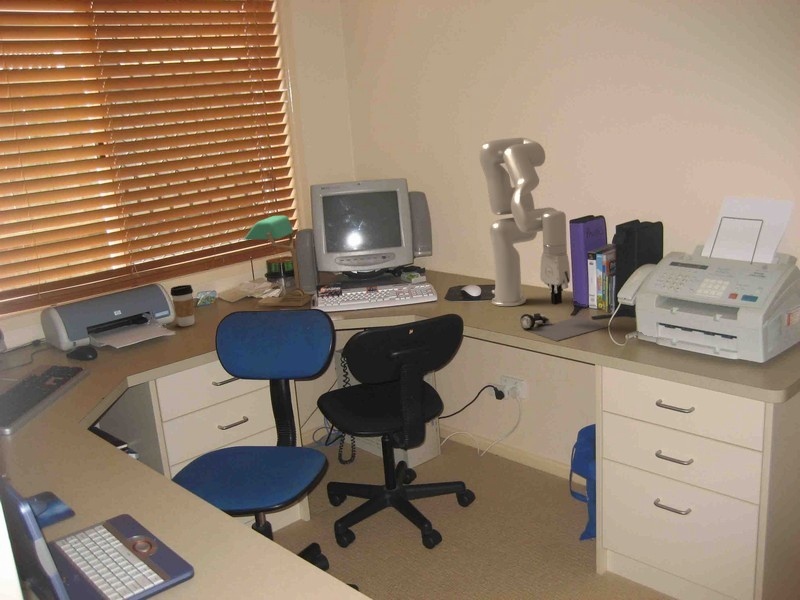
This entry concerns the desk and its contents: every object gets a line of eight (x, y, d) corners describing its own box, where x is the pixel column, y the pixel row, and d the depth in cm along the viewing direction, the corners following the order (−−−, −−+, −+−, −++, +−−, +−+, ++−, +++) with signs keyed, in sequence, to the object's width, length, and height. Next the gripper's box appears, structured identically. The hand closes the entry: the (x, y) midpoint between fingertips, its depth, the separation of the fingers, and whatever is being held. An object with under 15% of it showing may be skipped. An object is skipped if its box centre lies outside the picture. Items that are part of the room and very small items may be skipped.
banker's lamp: (298, 308, 308) (287, 221, 299) (251, 308, 314) (239, 222, 305) (314, 297, 322) (304, 214, 313) (269, 297, 329) (258, 215, 320)
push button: (554, 315, 259) (535, 319, 253) (550, 330, 261) (532, 334, 254) (538, 308, 264) (520, 312, 257) (535, 323, 266) (516, 326, 259)
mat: (527, 331, 256) (527, 330, 256) (578, 317, 266) (578, 316, 266) (556, 341, 244) (556, 340, 244) (608, 326, 254) (608, 325, 254)
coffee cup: (188, 327, 294) (182, 289, 290) (170, 326, 297) (164, 288, 293) (202, 321, 301) (196, 283, 297) (185, 320, 305) (179, 283, 301)
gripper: (531, 248, 258) (533, 301, 262) (561, 254, 245) (563, 310, 250) (548, 244, 261) (550, 297, 266) (579, 250, 248) (580, 305, 253)
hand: (556, 303), depth 258 cm, fingers closed
